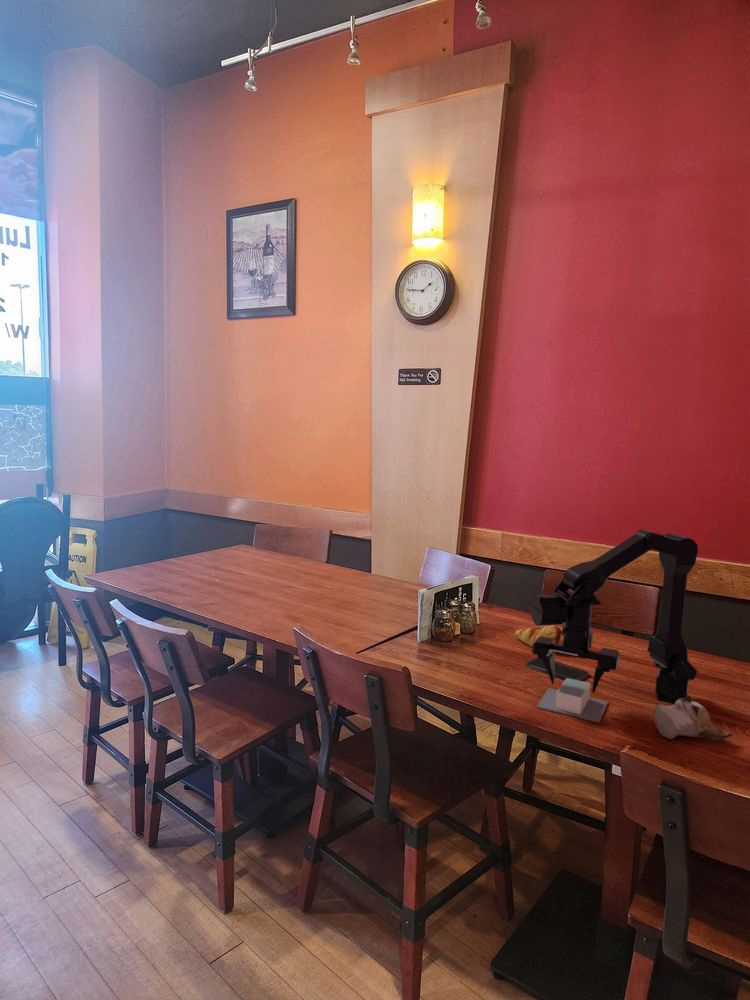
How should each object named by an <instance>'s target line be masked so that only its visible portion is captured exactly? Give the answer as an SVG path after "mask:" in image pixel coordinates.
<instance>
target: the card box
mask: <svg viewBox="0 0 750 1000" xmlns="http://www.w3.org/2000/svg"><path fill="white" fill-rule="evenodd" d="M557 690H558V691H557V697H556V709H560V710H564V711H568V712H572V713H576V714H581V712H582V711H583V709H584V707H585V706H586V704H587V702H588V700H589V697H590V694H591V693H590V692H591V682H586V681H583V680H581V681H578V680H573V679H569V678H566V680H563V682H562V684H561V685H560V687H559V688H558V689H557Z"/></svg>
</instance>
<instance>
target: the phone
mask: <svg viewBox="0 0 750 1000" xmlns="http://www.w3.org/2000/svg"><path fill="white" fill-rule="evenodd" d="M525 667H526V668H528V669H530V670H533V671H536V672H540V673H542V674H545V675H548V676H549V674H548V672H547V669H546V667H545V665H544V663H543V662H542V660H541V659H539V658H538V656H537V657H535V658H533V659H530V660H529V661H527V662H526V663H525ZM589 675H590V673H589V671H587V670H584V669H581V668H578V667H574V666H572V665H568V664H565V663H562V662H559V661H557V660H555V679H560V680H563V681H565V680H566V678H569V679H573V680H578V681H583V680H585V679H587V678H588V677H590V676H589Z"/></svg>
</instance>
